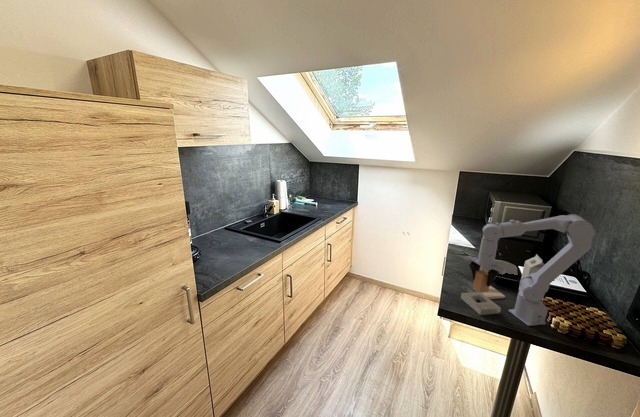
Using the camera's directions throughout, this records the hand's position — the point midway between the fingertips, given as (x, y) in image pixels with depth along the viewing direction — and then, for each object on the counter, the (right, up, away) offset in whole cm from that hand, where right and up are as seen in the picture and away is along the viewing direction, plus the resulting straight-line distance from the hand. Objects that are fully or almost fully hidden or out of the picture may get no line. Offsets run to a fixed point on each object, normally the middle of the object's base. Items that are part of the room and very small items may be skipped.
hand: (481, 282), depth 111 cm
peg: (0, -3, +1) cm, 3 cm away
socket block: (0, -10, +2) cm, 10 cm away
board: (+10, -8, +11) cm, 17 cm away
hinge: (+24, -5, +26) cm, 36 cm away
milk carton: (+28, -9, +10) cm, 31 cm away
